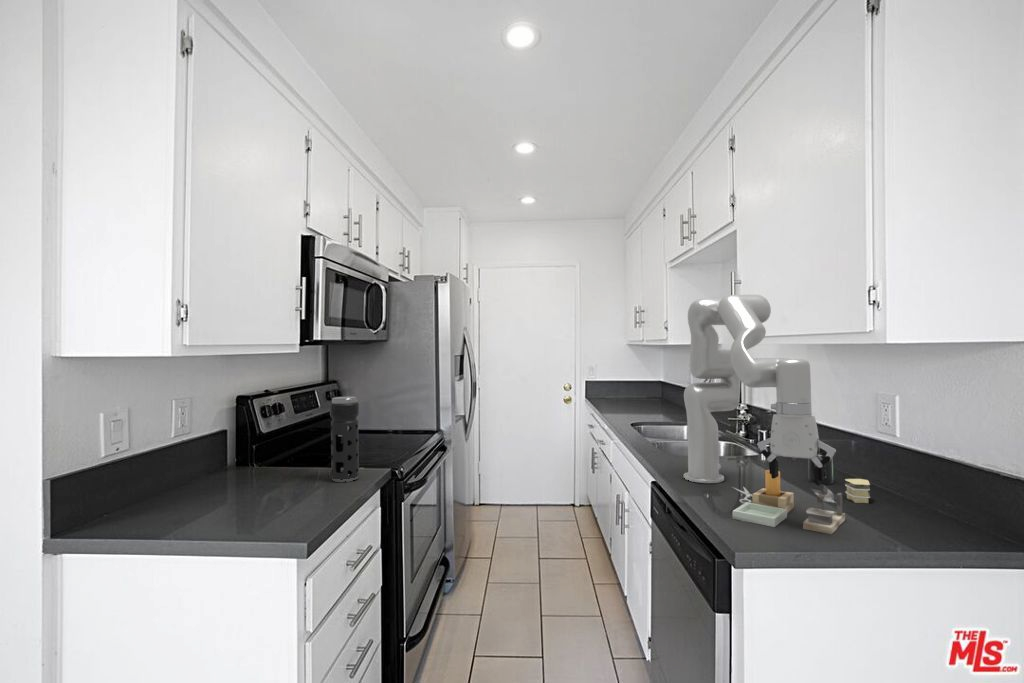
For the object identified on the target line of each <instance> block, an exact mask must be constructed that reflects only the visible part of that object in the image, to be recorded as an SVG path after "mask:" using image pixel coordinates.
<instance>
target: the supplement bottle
mask: <svg viewBox="0 0 1024 683" xmlns="http://www.w3.org/2000/svg"><path fill="white" fill-rule="evenodd" d="M827 445H829V444H827ZM826 454H827V452H826V451H825V450H823V449H821V448H820V453H819V456H820V457H821V458H822V459H823V458H824V457H825V456H826ZM833 457H834V456H833ZM833 457H832V459H831V460H830V461H829V462H828V463H827V464H825V465H824V466H823V470H824V480H823V481H821V483H820V484H824V485H825V486H826V485H827V486H828V485H829V486H830V485H832V484H833V483H834V464H833V462H834V461H833V460H834V459H833ZM807 465H808V466H807V467H808V468H807V469H808V471H807V472H808V473H807V474H808V482H809V483H810V484H811V483H815V476H814V468H815V467H816V464H815V463H814V462H813V461H812V460H811V459H807Z"/></svg>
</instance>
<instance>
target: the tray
mask: <svg viewBox="0 0 1024 683" xmlns="http://www.w3.org/2000/svg"><path fill="white" fill-rule="evenodd" d="M745 502H746V503H742V504H741V505H740V506H738V507H737V508H735V509H733V510H732V519H733V520H737V521H741V522H747V523H751V524H757V525H763V526H768V527H772V528H775V527H776V526H778V525H779V524H780V523H782V522H783V521H784V520H786V519H787V518H788V513H787V509H783V508H777V507H771V506H766V505H760V504H754V503H753V502H751V503H749V501H745Z"/></svg>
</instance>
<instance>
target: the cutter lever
mask: <svg viewBox="0 0 1024 683" xmlns="http://www.w3.org/2000/svg"><path fill="white" fill-rule="evenodd" d="M809 486H810V487H809V489H810V491H812V492H813V493H814V494H815V495H816V496H817V495H818V496H819V497H820V498H821V499H822V500H823V501H824V502H826V503H834V504H836V494H834V493H833V492H832V491H831V490H830V488H828V487H827V486H826V485H824V484H815V483H811V482H810V485H809Z"/></svg>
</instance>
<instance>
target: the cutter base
mask: <svg viewBox="0 0 1024 683" xmlns="http://www.w3.org/2000/svg"><path fill="white" fill-rule="evenodd" d="M835 496H836V503H835V504H836V511H833V510H826V509H825V508H824V506H825V505H824V502H825V501H823V500H822V499H821V498H820V497H819V496H818V495H816V498H817V508H816V507H815V508H814V507H809V508H807V509H806V512H805V514H808V518H806V519H805V520H804V521H803V522H802V529H803V530H807V531H812V532H813V531H814V532H817V533H823V534H828V535H833V533H835V532H836V530H837V529H838V528H839V527H840V526H841V524H843V523H844V522H845V521H846V513H844V512H843V510H844V509H843V492H842V493H841V492H838V493H837V494H835Z"/></svg>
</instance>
